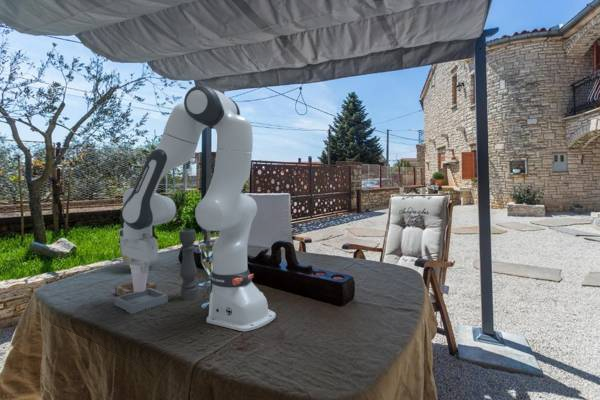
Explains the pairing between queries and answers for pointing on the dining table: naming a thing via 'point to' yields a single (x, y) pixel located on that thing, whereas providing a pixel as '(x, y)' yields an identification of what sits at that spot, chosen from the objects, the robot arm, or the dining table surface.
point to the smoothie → (138, 277)
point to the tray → (141, 300)
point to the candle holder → (188, 265)
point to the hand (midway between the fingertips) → (139, 271)
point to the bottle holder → (130, 288)
